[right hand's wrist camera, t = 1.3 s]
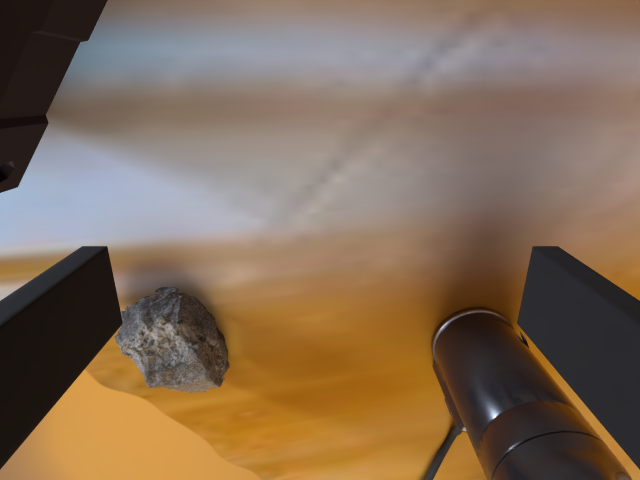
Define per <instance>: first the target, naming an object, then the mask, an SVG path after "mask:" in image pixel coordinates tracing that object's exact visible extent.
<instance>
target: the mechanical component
mask: <svg viewBox="0 0 640 480" xmlns="http://www.w3.org/2000/svg"><path fill="white" fill-rule="evenodd" d="M106 2H107V0H0V193H1V192H4V191H7V190H10V189H13V188H16V187H18V185H19V183H20V181H21V179H22V177H23V175H24V173H25V171H26V169H27V167H28V165H29V163H30V160H31V158H32V156H33V154H34V152H35V150H36V148H37V146H38V144H39V142H40V140H41V138H42V135H43V133H44V131H45V129H46V127H47V125H48V120H47V117H46V113H47V111H48V109H49V107H50V105H51V103H52V101H53V98H54V96H55V94H56V92H57V90H58V88H59V86H60V84H61V82H62V79H63V77H64V75H65V73H66V71H67V69H68V67H69V65H70V63H71V60H72V58H73V56H74V54H75V52H76V50H77V48H78V46H79V44H80V42H83V41H88V40H89V38H90V36H91V33H92V31H93V29H94V27H95V25H96V23H97V21H98V19H99V17H100V15H101V13H102V11H103V8H104V6H105V4H106Z"/></svg>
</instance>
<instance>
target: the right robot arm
mask: <svg viewBox="0 0 640 480" xmlns="http://www.w3.org/2000/svg"><path fill="white" fill-rule="evenodd" d="M122 324H123V321H122V316H121V312H120V307H119V302H118V297H117V292H116V287H115V282H114V277H113V272H112V267H111V263H110V258H109V253H108V248H107V246H82V247H81V248H79V249H78V250H76V251H75V252H73V253H72V254H70V255H69V256H67V257H66V258H64V259H63V260H61V261H60V262H58V263H57V264H55V265H54V266H52V267H51V268H49V269H48V270H46V271H45V272H43V273H42V274H40V275H39V276H37V277H36V278H34V279H33V280H31V281H30V282H28V283H27V284H25V285H24V286H22V287H21V288H19V289H18V290H16V291H15V292H13V293H12V294H10V295H9V296H7V297H5V298H4V299H2V300H1V301H0V469H1V468H2V467H3V466H4V464H5V463H6V462H7V461H8V460H9V458H10V457H11V456H12V455H13V454H14V452H15V451H16V450H17V449H18V448H19V447H20V445H21V444H22V443H23V442H24V441H25V439H26V438H27V437H28V436H29V435H30V433H31V432H32V431H33V430H34V429H35V427H36V426H37V425H38V424H39V423H40V422H41V420H42V419H43V418H44V417H45V416H46V414H47V413H48V412H49V411H50V410H51V408H52V407H53V406H54V405H55V404H56V402H57V401H58V400H59V399H60V398H61V397H62V395H63V394H64V393H65V392H66V391H67V389H68V388H69V387H70V386H71V385H72V383H73V382H74V381H75V380H76V379H77V377H78V376H79V375H80V374H81V373H82V371H83V370H84V369H85V368H86V367H87V366H88V364H89V363H90V362H91V361H92V360H93V358H94V357H95V356H96V355H97V354H98V352H99V351H100V350H101V349H102V348H103V346H104V345H105V344H106V343H107V342H108V340H109V339H110V338H111V337H112V336H113V335H114V333H115V332H116V331H117V330H118V329H119V327H120V326H121V325H122ZM517 324H518V325H519V326H520V327H521V329H522V330H523V331H524V332H525V333H526V335H527V336H528V337H529V338H530V339H531V340H532V342H533V343H534V344H535V345H536V346H537V348H538V349H539V350H540V351H541V352H542V354H543V355H544V356H545V357H546V358H547V360H548V361H549V362H550V363H551V364H552V366H553V367H554V368H555V369H556V370H557V371H558V373H559V374H560V375H561V376H562V377H563V379H564V380H565V381H566V382H567V383H568V385H569V386H570V387H571V388H572V389H573V391H574V392H575V393H576V394H577V395H578V397H579V398H580V399H581V400H582V401H583V402H584V404H585V405H586V406H587V407H588V408H589V410H590V411H591V412H592V413H593V414H594V416H595V417H596V418H597V419H598V420H599V422H600V423H601V424H602V425H603V426H604V427H605V429H606V430H607V431H608V432H609V433H610V435H611V436H612V437H613V438H614V439H615V441H616V442H617V443H618V444H619V445H620V447H621V448H622V449H623V450H624V451H625V453H626V454H627V455H628V456H629V457H630V458H631V460H632V461H633V462H634V463H635V464H636V466H637V467H638V468H639V469H640V301H639V300H638V299H636V298H635V297H633V296H631V295H630V294H628V293H627V292H625V291H624V290H622V289H621V288H619V287H618V286H616V285H615V284H613V283H612V282H610V281H609V280H607V279H606V278H604V277H603V276H601V275H600V274H598V273H597V272H595V271H594V270H592V269H591V268H589V267H588V266H586V265H585V264H583V263H582V262H580V261H579V260H577V259H576V258H574V257H573V256H571V255H570V254H568V253H567V252H565V251H564V250H562V249H561V248H559V247H558V246H533V248H532V253H531V258H530V263H529V267H528V272H527V277H526V282H525V287H524V292H523V297H522V302H521V307H520V312H519V316H518V321H517Z"/></svg>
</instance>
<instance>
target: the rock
mask: <svg viewBox="0 0 640 480" xmlns="http://www.w3.org/2000/svg"><path fill="white" fill-rule="evenodd" d="M155 292H161V293H164V294H163V295H160V294H159V295H154V296H150V297H149V296H148V297H145V298H143V299H141V300H139V302H138V303H137V302H136V303H133V304H132V305H130V306H128V307H127V308H125V311H121V314H122V321H123V324H122V325H121V328H120V330H119V331H118V334H117V335H116V336H115V340H116V343H117V344H118V345H119V346H120V348H121V352H122V354H123V355H125V356H127V357H128V358H132V360H133V361H134V363H135V365H137V367H138V368H139V369H140V371H141V372H142V374H143V376H144V378H145V382H146V384H147V386H148V388H150V387H153V388H159V387H165V388H167V389H173V390H177V391H182V392H188V393H193V392H205V391H206V390H207V389H211V388H217V387H220V386H221V385H222V382H223V381H224V380H225V378H224V373H226V371H227V369H228V368H229V362H228V360H227V357H228V355H227V354H228V351H227V349H226V346H225V339H224V336H223V335H222V334H221V333H220V331H219V330H218V328H217V327H216V323H215V318H214V317H213V316H212V315H211V314H210V313H209V312H207V311H206V310H205V309H206V308H205V307H204V306H203V305H202V303H201V302H200V301H198V299H196V298H195V297H191V296H187V295H186V294H185V293H179V292H178V289H177V288H173V287H172V288H171V287H169V288H168V287H162V288H160V289H158V290H157V291H155Z"/></svg>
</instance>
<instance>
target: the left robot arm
mask: <svg viewBox="0 0 640 480" xmlns="http://www.w3.org/2000/svg"><path fill="white" fill-rule="evenodd" d="M520 334H521V332H520ZM521 337H522V339H523V341H522V339H521V338H520V337H519V336H518V334H517V333H516V332H515V331H514V329H513V327H512V325H511V324H510V323H509V322H508V320H507V319H506V318H505V317H504V316H502V315H501V314H500V313H498V312H496V311H494V310H491V309H487V308H469V309H465V310H462V311H459V312H457V313H455V314H453V315H451V316H450V317H448V318H447V319H446V320H444V321H443V322H442V323H441V324H440V326H439V327H438V328H437V330H436V332H435V334H434V336H433V339H432V353H433V356H434V359H435V361H434V364H433V369H434V371H435V374H436V376H437V379H438V381H439V384H440V386H441V388H442V391H443V393H444V396H445V402H446V404H447V407H448V409H449V412H450V414H451V415H452V416H453V418H454V421H455V423H456V426H455V427H453V428H452V430H451V431H450V433H449V434H448V436H447V438H446V440H445V442H444V443H443V445H442V447H441V449H440V450H439V452H438V454H437V456H436V458H435V460H434V462H433V464H432V466H431V468H430V470H429V472H428V474H427V476H426V478H425V479H424V480H433V478H434V477H435V475H436V473H437V471H438V469H439V467H440V465H441V463H442V461H443V459H444V457H445V455H446V453H447V452H448V450H449V448H450V446H451V444H452V443H453V441H454V439H455V438H456V436H457V435H459V434H461V432H462V431H463V432H467V434H468V436H469V438H470V441H471V443H472V445H473V448H474V450H475V452H476V455H477V457H478V459H479V462H480V464H481V466H482V468H483V471H484V473H485V475H486V478H487V480H632V478H631V476H630V475H629V473H628V472H627V470H626V469H625V468H624V466H623V465H622V464H621V463H620V461H619V460H618V459H617V458H616V456H615V455H614V454H613V453H612V451H611V450H610V449H609V448H608V446H607V445H606V444H605V442H604V441H603V440H602V439H601V438H600V436H599V435H598V434H597V433H596V431H595V430H594V429H593V428H592V426H591V425H590V424H589V423H588V421H587V420H586V419H585V418H584V416H583V415H582V414H581V413H580V412H579V410H578V409H577V408H576V407H575V405H574V404H573V403H572V402H571V400H570V399H569V398H568V397H567V395H566V394H565V393H564V392H563V390H562V389H561V388H560V387H559V385H558V384H557V383H556V382H555V380H554V379H553V378H552V377H551V375H550V374H549V373H548V372H547V370H546V369H545V368H544V367H543V365H542V364H541V363H540V362H539V360H538V359H537V358H536V357H535V356H534V354H533V353H532V352H531V351H530V349H529V346H528V344H527V341H526V338H525V337H524V336H523V335H522V334H521Z"/></svg>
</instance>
